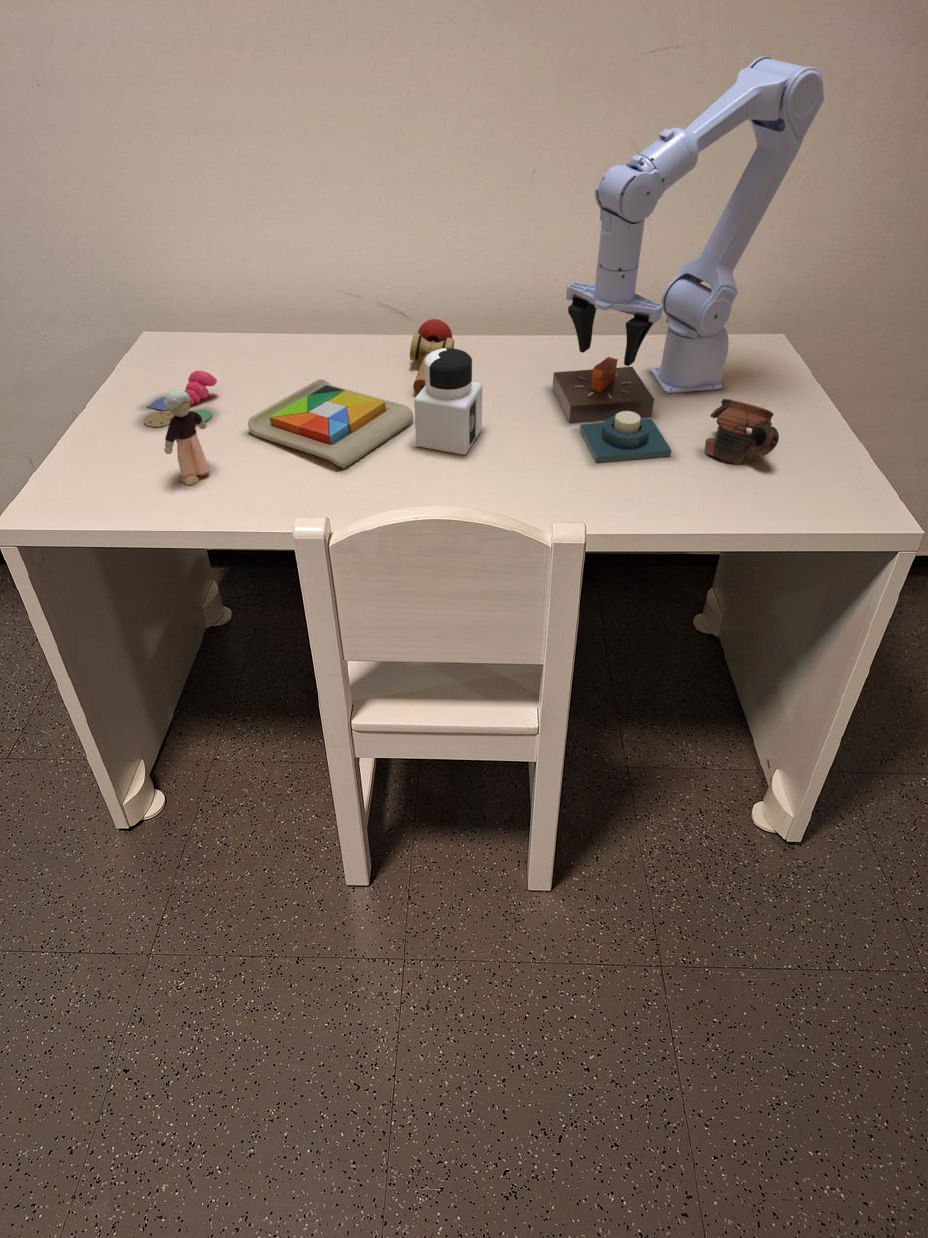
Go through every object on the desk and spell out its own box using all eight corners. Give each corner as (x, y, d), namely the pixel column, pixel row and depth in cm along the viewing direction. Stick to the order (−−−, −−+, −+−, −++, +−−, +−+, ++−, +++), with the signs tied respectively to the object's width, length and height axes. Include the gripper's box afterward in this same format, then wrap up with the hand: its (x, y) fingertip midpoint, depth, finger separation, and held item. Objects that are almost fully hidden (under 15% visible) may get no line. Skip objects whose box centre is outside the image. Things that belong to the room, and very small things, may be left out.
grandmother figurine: (196, 491, 110) (172, 406, 101) (170, 486, 111) (145, 401, 102) (223, 461, 115) (203, 378, 107) (199, 457, 116) (177, 374, 108)
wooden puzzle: (325, 387, 132) (322, 366, 129) (417, 421, 124) (416, 400, 121) (245, 432, 121) (241, 411, 119) (340, 473, 113) (337, 451, 111)
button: (634, 420, 118) (636, 409, 117) (642, 433, 116) (644, 422, 115) (610, 422, 118) (612, 411, 117) (617, 435, 115) (619, 424, 114)
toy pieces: (166, 388, 131) (159, 362, 128) (230, 394, 130) (225, 368, 127) (129, 424, 123) (121, 398, 120) (198, 432, 121) (191, 405, 118)
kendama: (452, 403, 130) (462, 340, 141) (443, 369, 125) (455, 307, 137) (405, 408, 132) (419, 345, 143) (395, 375, 127) (411, 313, 138)
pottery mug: (684, 448, 119) (704, 392, 116) (725, 460, 124) (745, 407, 122) (747, 467, 109) (770, 406, 107) (789, 480, 115) (812, 422, 112)
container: (482, 430, 122) (483, 346, 113) (465, 456, 116) (465, 371, 108) (434, 421, 124) (431, 339, 115) (415, 446, 118) (411, 362, 109)
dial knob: (605, 377, 127) (608, 354, 125) (614, 380, 127) (617, 357, 124) (590, 389, 125) (593, 366, 122) (599, 392, 124) (602, 369, 121)
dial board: (629, 383, 132) (632, 365, 130) (651, 416, 125) (654, 398, 122) (552, 389, 131) (553, 370, 129) (568, 423, 123) (570, 404, 121)
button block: (650, 425, 123) (653, 407, 121) (670, 457, 116) (674, 438, 114) (579, 431, 121) (581, 413, 119) (595, 463, 115) (598, 445, 113)
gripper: (558, 261, 114) (551, 353, 123) (652, 284, 108) (637, 379, 117) (583, 246, 118) (575, 337, 127) (675, 268, 112) (659, 361, 121)
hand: (606, 356), depth 123 cm, fingers open, 7 cm apart
